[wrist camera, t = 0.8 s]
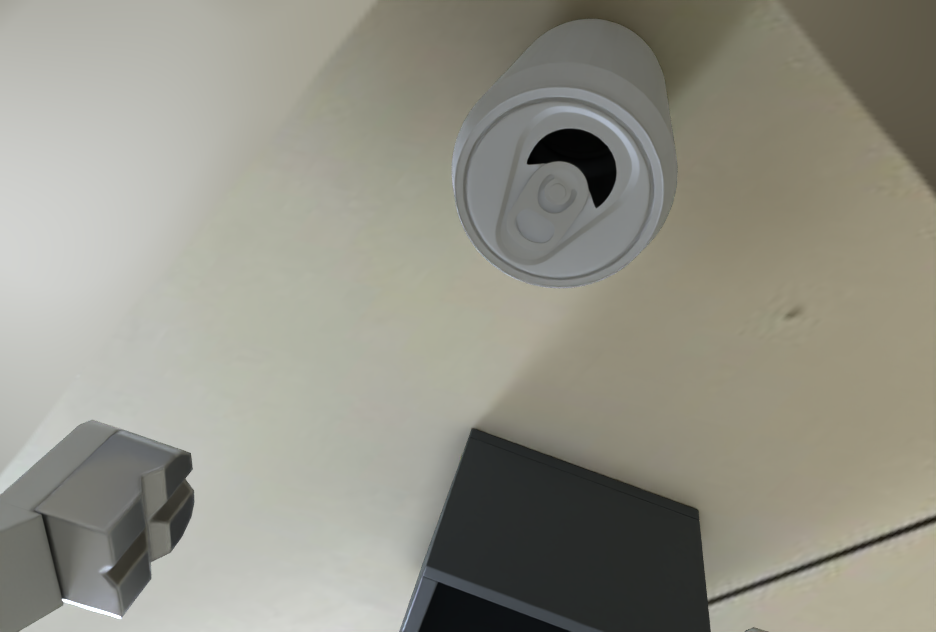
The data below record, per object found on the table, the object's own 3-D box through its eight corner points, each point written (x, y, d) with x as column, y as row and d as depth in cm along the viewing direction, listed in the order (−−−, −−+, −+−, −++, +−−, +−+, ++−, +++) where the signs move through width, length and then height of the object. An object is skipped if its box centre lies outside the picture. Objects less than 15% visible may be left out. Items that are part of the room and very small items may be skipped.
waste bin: (472, 427, 38) (425, 565, 30) (698, 509, 37) (715, 674, 29) (420, 569, 45) (371, 711, 37) (609, 640, 45) (603, 801, 36)
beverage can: (699, 72, 26) (736, 160, 16) (604, 200, 30) (586, 339, 20) (564, -17, 26) (516, 17, 16) (484, 123, 29) (401, 226, 19)
